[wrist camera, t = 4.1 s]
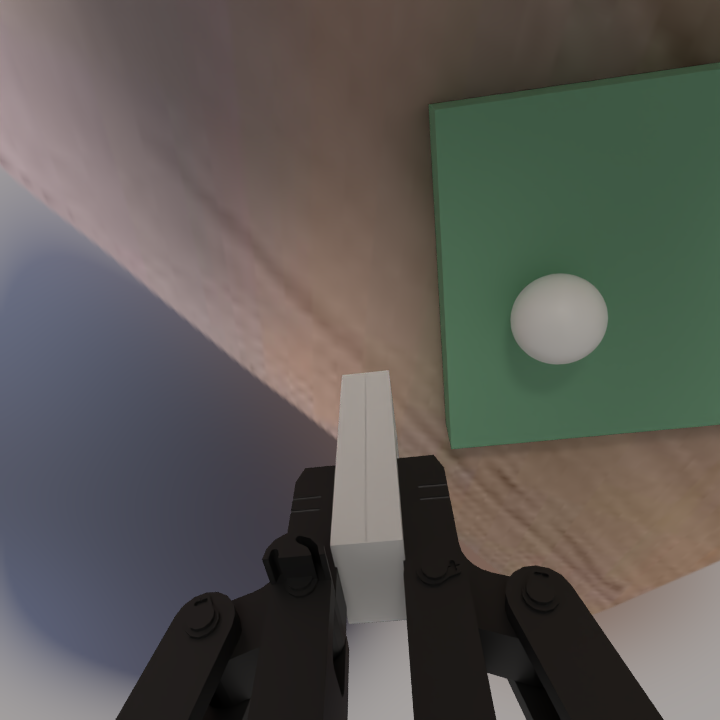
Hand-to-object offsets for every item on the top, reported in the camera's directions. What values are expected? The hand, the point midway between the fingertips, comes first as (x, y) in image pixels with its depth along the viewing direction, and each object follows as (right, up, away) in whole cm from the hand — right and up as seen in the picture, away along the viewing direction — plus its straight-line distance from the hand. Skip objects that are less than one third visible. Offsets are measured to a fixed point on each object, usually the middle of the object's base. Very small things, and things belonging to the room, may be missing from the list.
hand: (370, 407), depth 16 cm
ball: (+7, +3, +2) cm, 8 cm away
